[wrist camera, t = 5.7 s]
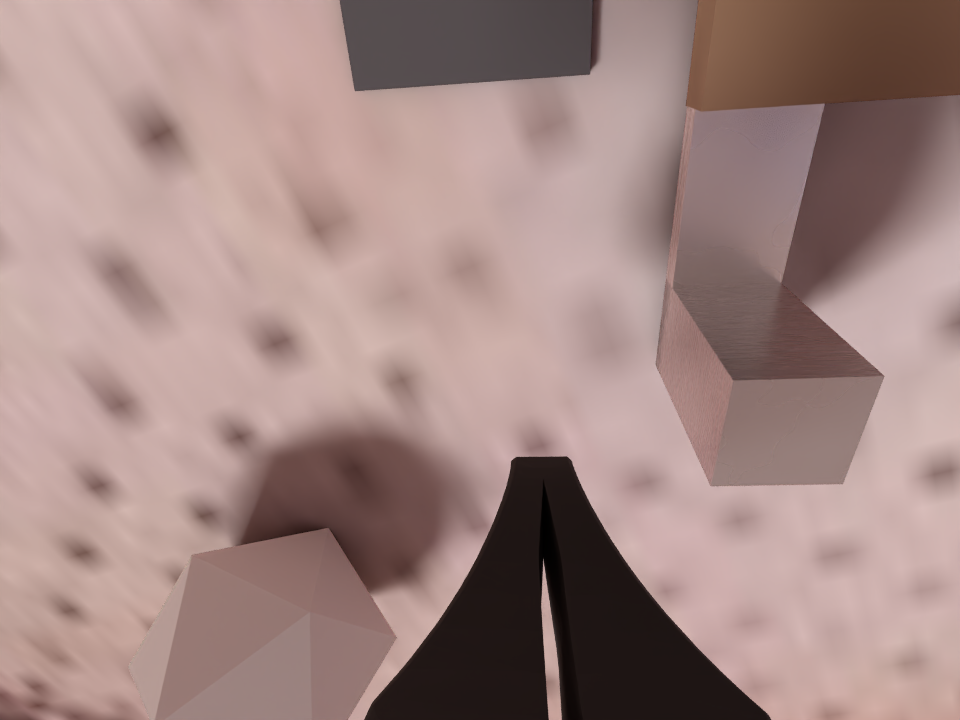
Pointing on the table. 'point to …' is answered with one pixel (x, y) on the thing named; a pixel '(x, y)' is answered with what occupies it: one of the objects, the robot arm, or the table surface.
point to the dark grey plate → (465, 41)
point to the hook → (754, 310)
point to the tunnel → (822, 52)
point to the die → (263, 635)
